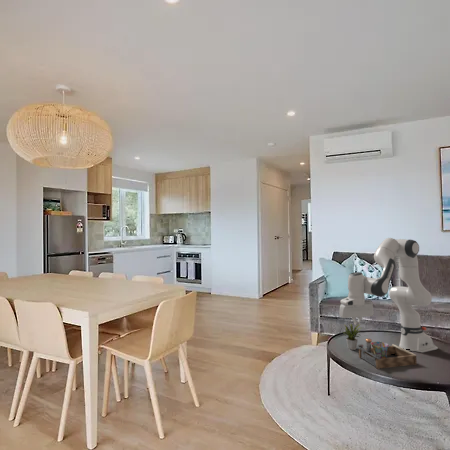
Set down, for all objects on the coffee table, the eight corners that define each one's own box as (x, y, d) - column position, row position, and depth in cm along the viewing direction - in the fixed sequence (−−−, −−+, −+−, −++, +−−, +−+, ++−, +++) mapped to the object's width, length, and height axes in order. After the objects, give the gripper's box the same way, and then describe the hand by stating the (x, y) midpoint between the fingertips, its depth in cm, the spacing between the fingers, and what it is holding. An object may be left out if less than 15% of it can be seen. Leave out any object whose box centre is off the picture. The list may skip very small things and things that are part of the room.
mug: (390, 366, 187) (389, 347, 187) (372, 364, 190) (372, 346, 190) (386, 358, 199) (386, 340, 199) (370, 357, 201) (369, 339, 202)
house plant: (368, 347, 218) (367, 322, 219) (363, 353, 207) (362, 327, 207) (345, 343, 226) (345, 319, 227) (340, 349, 215) (339, 324, 215)
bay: (394, 353, 207) (393, 344, 207) (416, 364, 188) (416, 354, 189) (358, 357, 202) (358, 347, 202) (378, 369, 184) (377, 359, 184)
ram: (361, 355, 203) (361, 334, 203) (382, 368, 184) (381, 344, 184) (357, 356, 202) (356, 334, 202) (377, 368, 183) (376, 345, 184)
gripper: (369, 298, 198) (369, 322, 197) (337, 300, 194) (338, 324, 193) (375, 300, 191) (376, 324, 191) (343, 302, 187) (344, 327, 187)
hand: (357, 324), depth 192 cm, fingers closed
